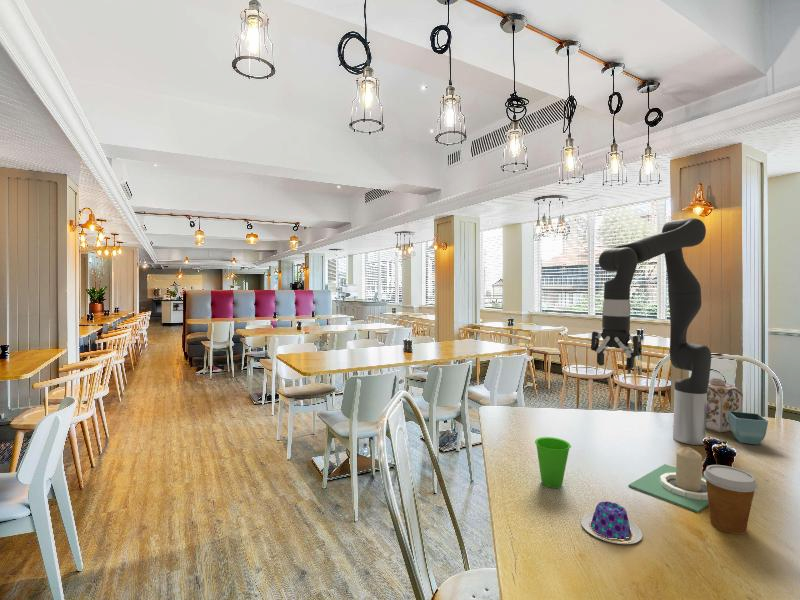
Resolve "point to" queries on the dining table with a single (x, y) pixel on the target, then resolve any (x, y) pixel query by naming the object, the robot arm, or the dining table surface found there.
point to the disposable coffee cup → (729, 497)
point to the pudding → (611, 522)
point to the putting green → (672, 489)
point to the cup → (552, 460)
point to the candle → (688, 469)
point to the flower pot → (748, 427)
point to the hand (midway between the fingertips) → (614, 367)
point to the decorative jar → (721, 404)
